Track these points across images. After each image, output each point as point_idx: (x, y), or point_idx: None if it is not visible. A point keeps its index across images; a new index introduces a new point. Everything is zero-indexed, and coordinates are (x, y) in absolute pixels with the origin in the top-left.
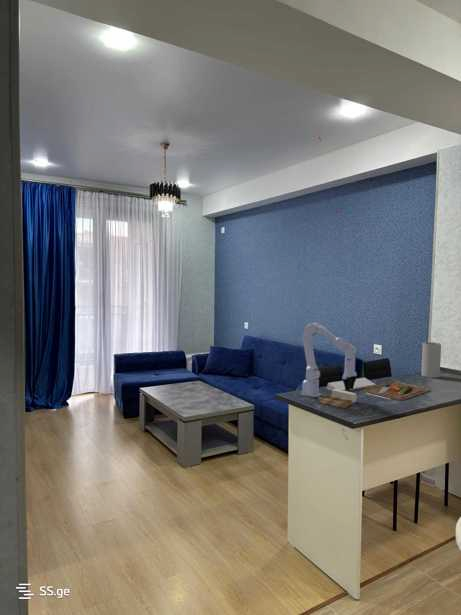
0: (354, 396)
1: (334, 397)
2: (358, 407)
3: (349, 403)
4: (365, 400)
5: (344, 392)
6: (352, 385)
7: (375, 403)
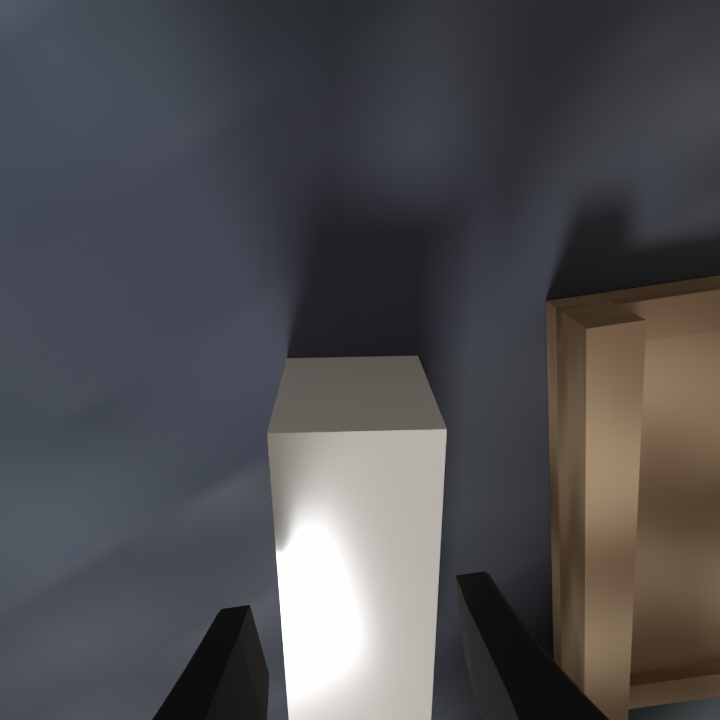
0: (354, 405)
1: (630, 609)
2: (618, 105)
3: (652, 299)
4: (48, 297)
5: (411, 627)
6: (226, 704)
7: (36, 17)
